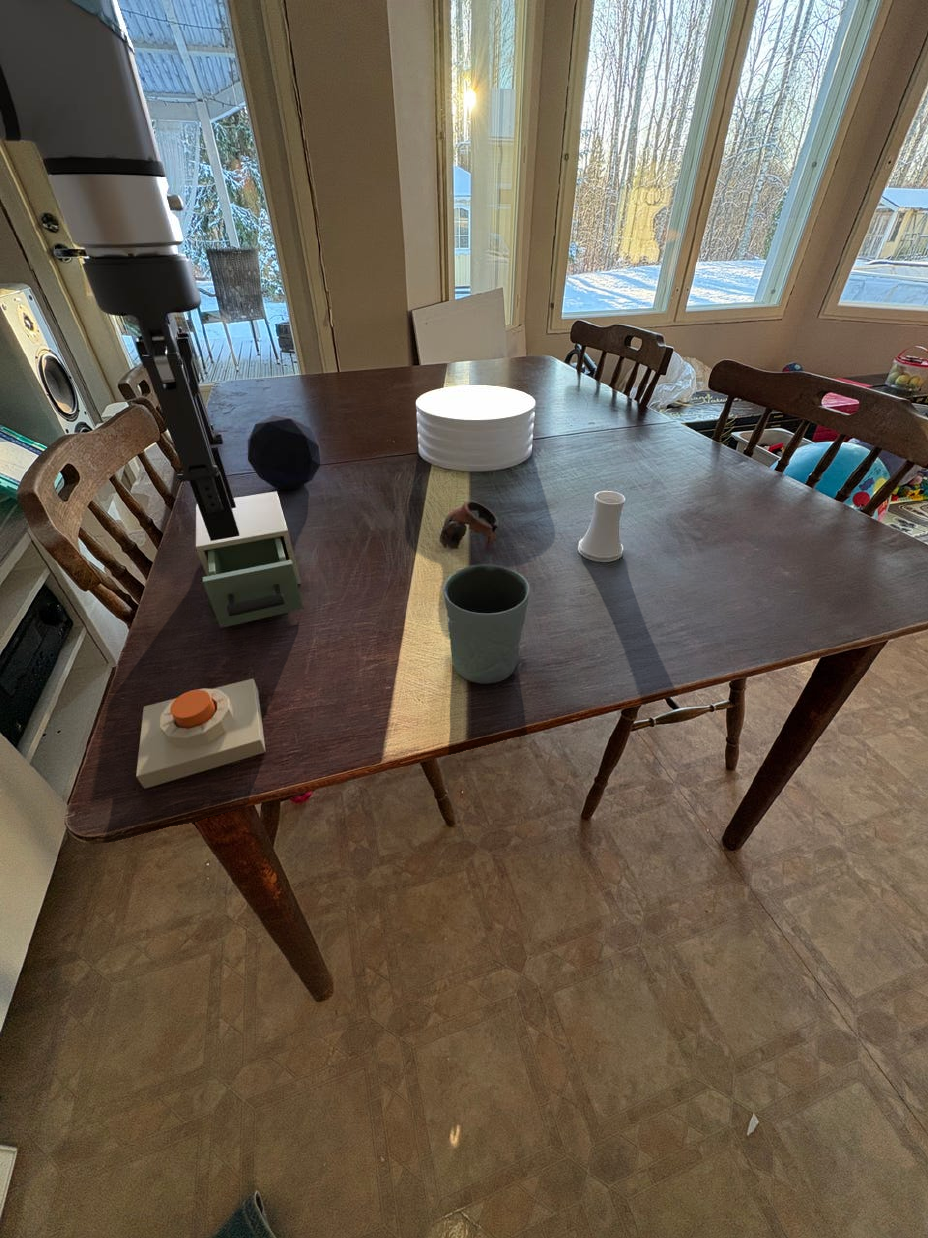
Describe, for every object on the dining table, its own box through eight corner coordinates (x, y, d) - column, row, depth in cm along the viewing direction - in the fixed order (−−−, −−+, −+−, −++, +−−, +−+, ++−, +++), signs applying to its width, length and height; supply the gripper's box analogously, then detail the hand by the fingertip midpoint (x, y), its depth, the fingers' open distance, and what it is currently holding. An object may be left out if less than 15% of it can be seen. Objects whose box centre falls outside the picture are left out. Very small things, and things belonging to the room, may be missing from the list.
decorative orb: (239, 452, 111) (232, 405, 98) (306, 439, 117) (308, 394, 104) (261, 508, 109) (257, 469, 96) (329, 492, 115) (334, 453, 102)
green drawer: (308, 626, 72) (296, 579, 67) (221, 646, 68) (202, 599, 63) (291, 563, 84) (280, 520, 80) (217, 577, 81) (202, 534, 76)
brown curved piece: (451, 527, 97) (473, 492, 92) (487, 559, 95) (512, 526, 91) (417, 540, 87) (440, 501, 82) (457, 576, 85) (483, 540, 81)
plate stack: (434, 427, 140) (432, 382, 133) (536, 433, 135) (540, 387, 128) (404, 466, 118) (400, 415, 111) (525, 475, 114) (529, 423, 107)
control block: (144, 789, 52) (128, 765, 50) (151, 719, 60) (137, 695, 57) (265, 752, 56) (256, 728, 53) (258, 690, 63) (249, 667, 61)
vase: (607, 537, 93) (617, 484, 86) (630, 557, 87) (643, 503, 81) (570, 543, 91) (577, 491, 84) (591, 565, 85) (601, 510, 79)
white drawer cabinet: (300, 583, 81) (287, 530, 75) (216, 601, 78) (195, 546, 72) (289, 540, 92) (276, 490, 86) (214, 555, 88) (195, 503, 82)
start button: (175, 733, 54) (169, 722, 52) (176, 706, 56) (170, 695, 55) (216, 722, 55) (211, 711, 54) (215, 696, 58) (210, 685, 56)
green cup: (514, 634, 71) (520, 561, 64) (530, 686, 64) (539, 610, 56) (442, 639, 70) (439, 566, 63) (449, 693, 63) (447, 617, 55)
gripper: (184, 257, 33) (270, 559, 48) (188, 244, 47) (254, 481, 62) (51, 261, 31) (183, 576, 46) (96, 246, 45) (186, 491, 59)
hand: (223, 521), depth 54 cm, fingers open, 6 cm apart
